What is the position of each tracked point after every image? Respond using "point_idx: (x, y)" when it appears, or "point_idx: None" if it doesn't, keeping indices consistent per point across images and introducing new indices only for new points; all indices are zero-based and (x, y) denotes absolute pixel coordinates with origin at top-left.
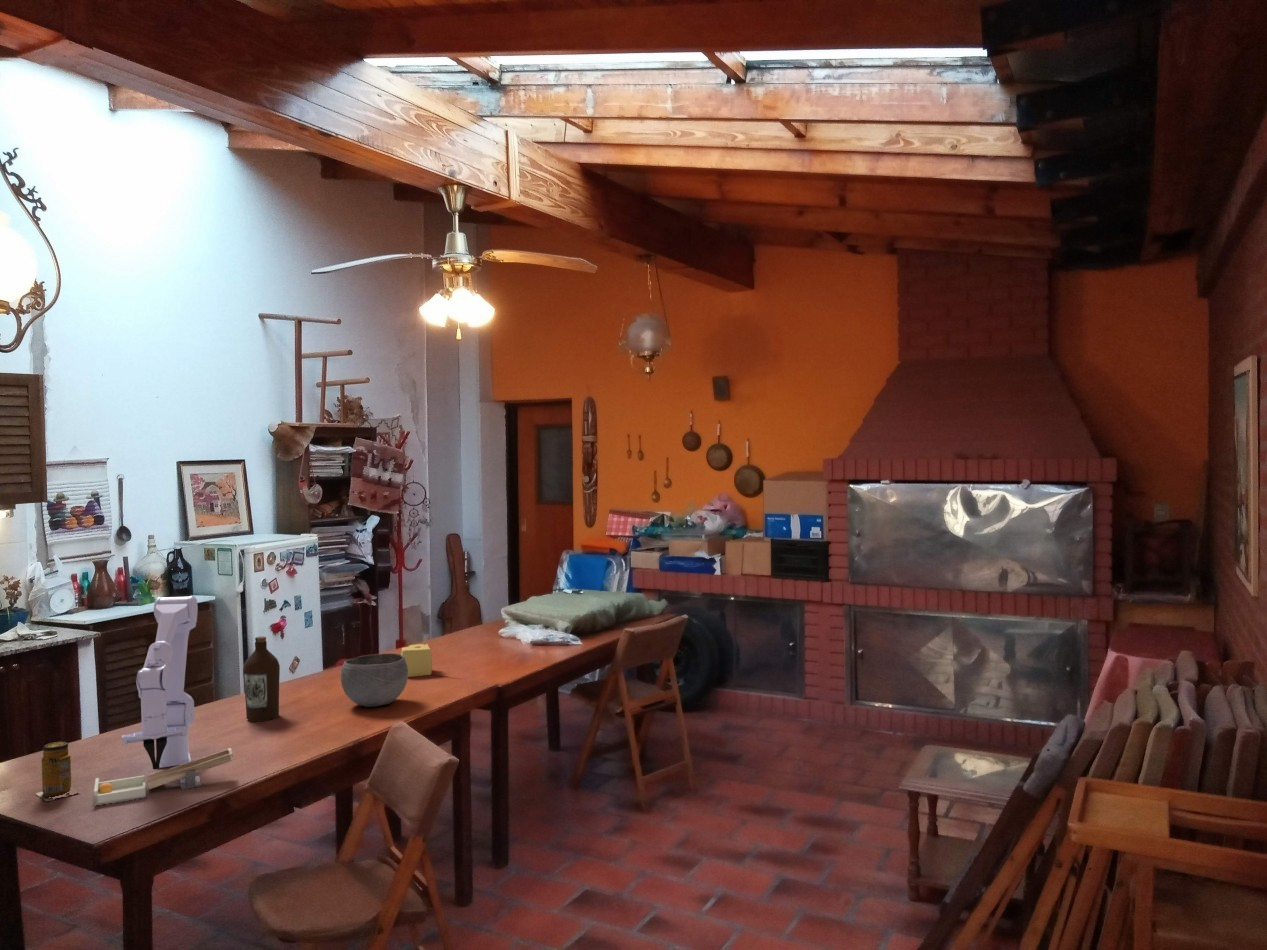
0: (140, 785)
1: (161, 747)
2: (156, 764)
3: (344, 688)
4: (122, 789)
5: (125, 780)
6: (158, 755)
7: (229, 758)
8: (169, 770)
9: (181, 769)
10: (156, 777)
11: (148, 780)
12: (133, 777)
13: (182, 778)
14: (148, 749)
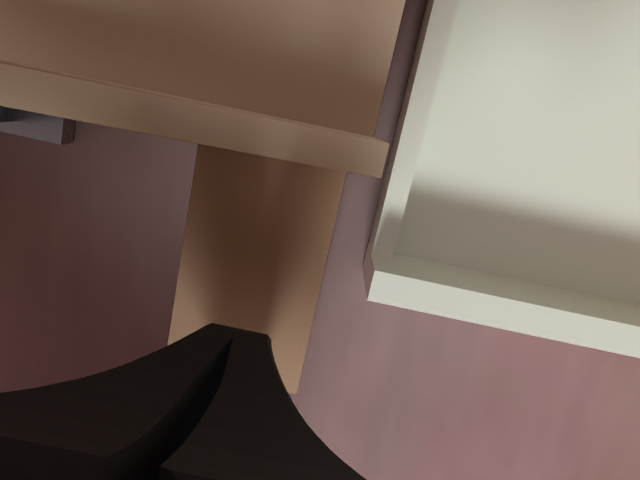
0: (420, 221)
1: (30, 412)
2: (224, 338)
3: None
4: (586, 220)
5: (560, 307)
6: (159, 380)
7: None
8: (116, 85)
9: None
10: (284, 119)
11: (369, 137)
12: (485, 306)
13: (38, 138)
14: (315, 472)
